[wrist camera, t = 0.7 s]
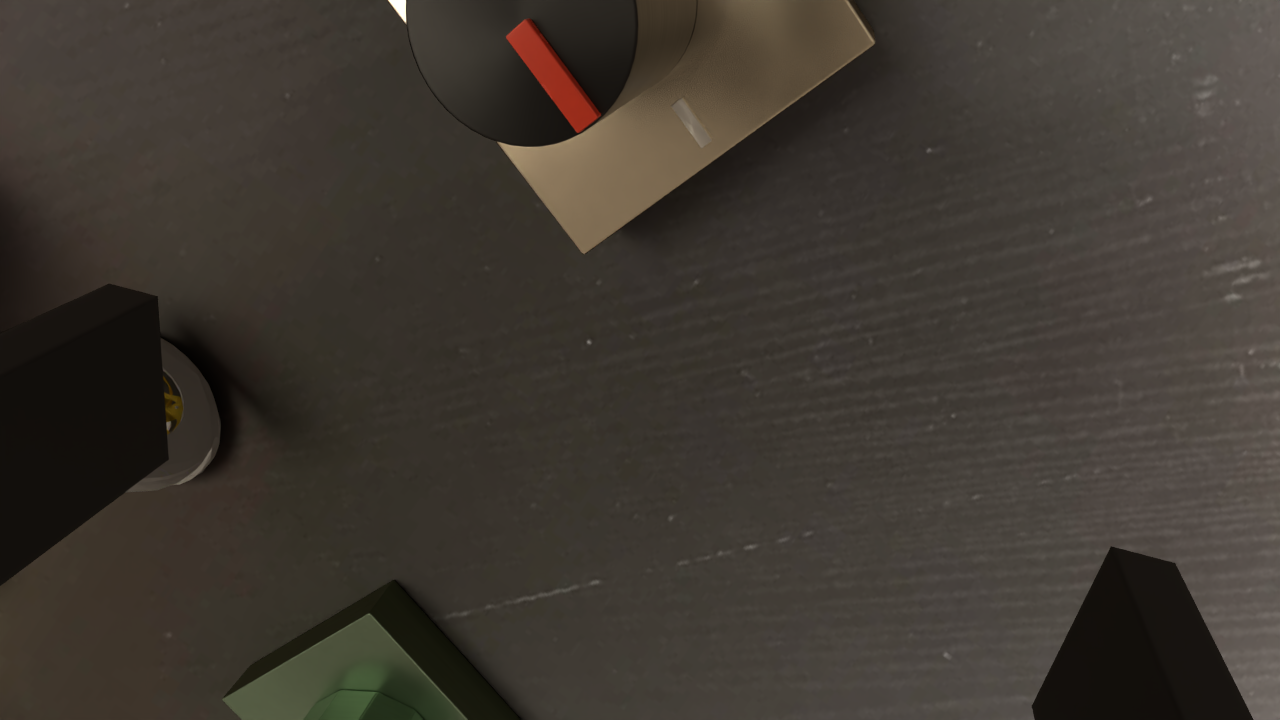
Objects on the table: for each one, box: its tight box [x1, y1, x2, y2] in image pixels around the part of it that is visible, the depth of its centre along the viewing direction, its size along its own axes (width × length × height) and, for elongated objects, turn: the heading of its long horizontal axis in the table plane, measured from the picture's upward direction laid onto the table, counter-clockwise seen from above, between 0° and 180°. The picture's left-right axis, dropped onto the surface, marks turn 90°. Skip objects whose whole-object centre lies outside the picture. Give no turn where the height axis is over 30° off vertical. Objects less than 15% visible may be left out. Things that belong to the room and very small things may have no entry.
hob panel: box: [387, 0, 876, 254], centre depth 26 cm, size 10×10×3 cm
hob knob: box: [406, 0, 697, 147], centre depth 21 cm, size 5×5×7 cm
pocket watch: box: [126, 338, 221, 492], centre depth 32 cm, size 8×8×10 cm
